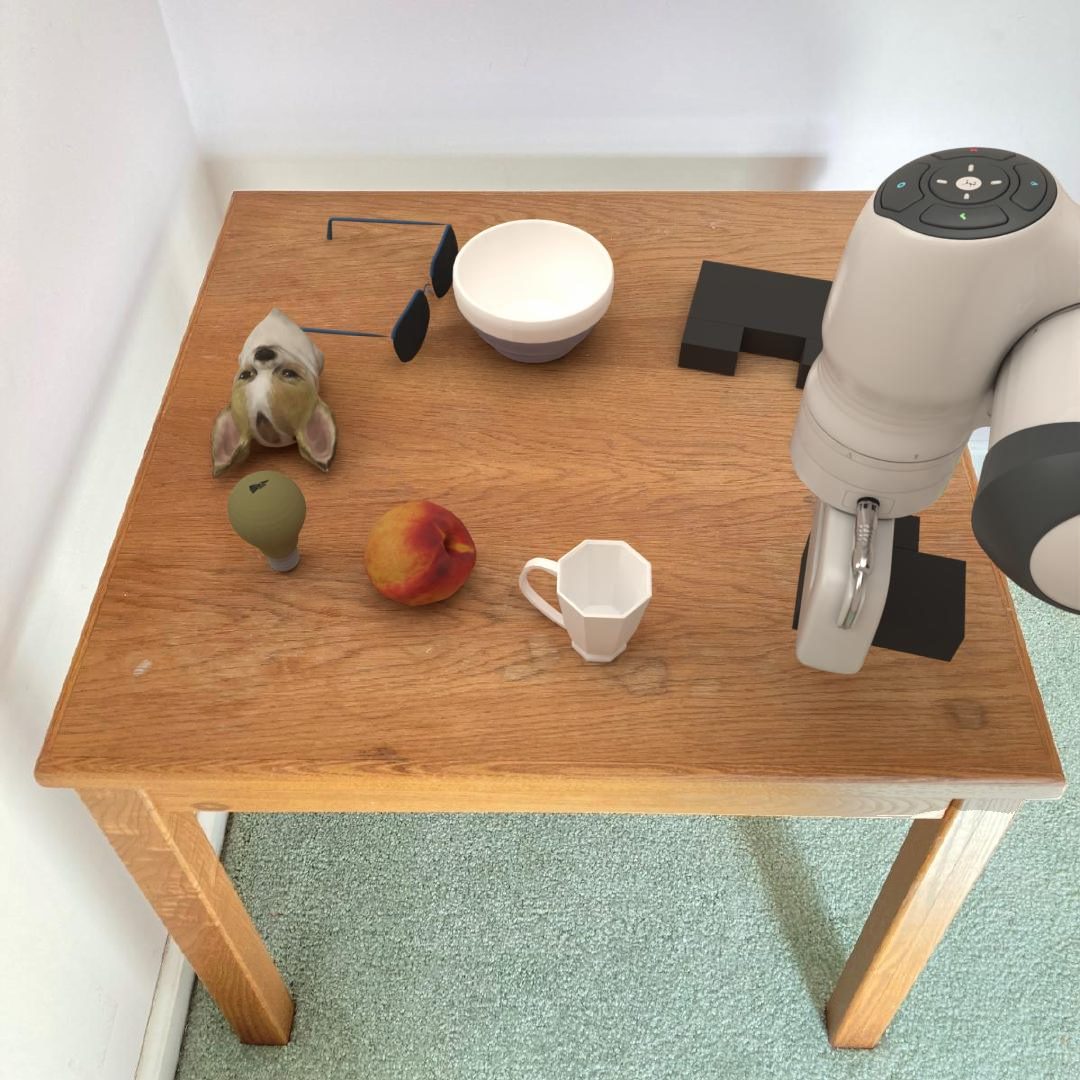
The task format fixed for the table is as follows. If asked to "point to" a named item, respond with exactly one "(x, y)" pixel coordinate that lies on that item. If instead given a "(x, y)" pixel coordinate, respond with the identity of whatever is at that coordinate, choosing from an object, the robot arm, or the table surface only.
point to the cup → (596, 595)
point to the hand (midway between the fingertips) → (823, 581)
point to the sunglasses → (417, 312)
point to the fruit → (419, 553)
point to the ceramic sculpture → (275, 399)
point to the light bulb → (269, 516)
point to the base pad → (753, 318)
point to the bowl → (533, 287)
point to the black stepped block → (915, 598)
